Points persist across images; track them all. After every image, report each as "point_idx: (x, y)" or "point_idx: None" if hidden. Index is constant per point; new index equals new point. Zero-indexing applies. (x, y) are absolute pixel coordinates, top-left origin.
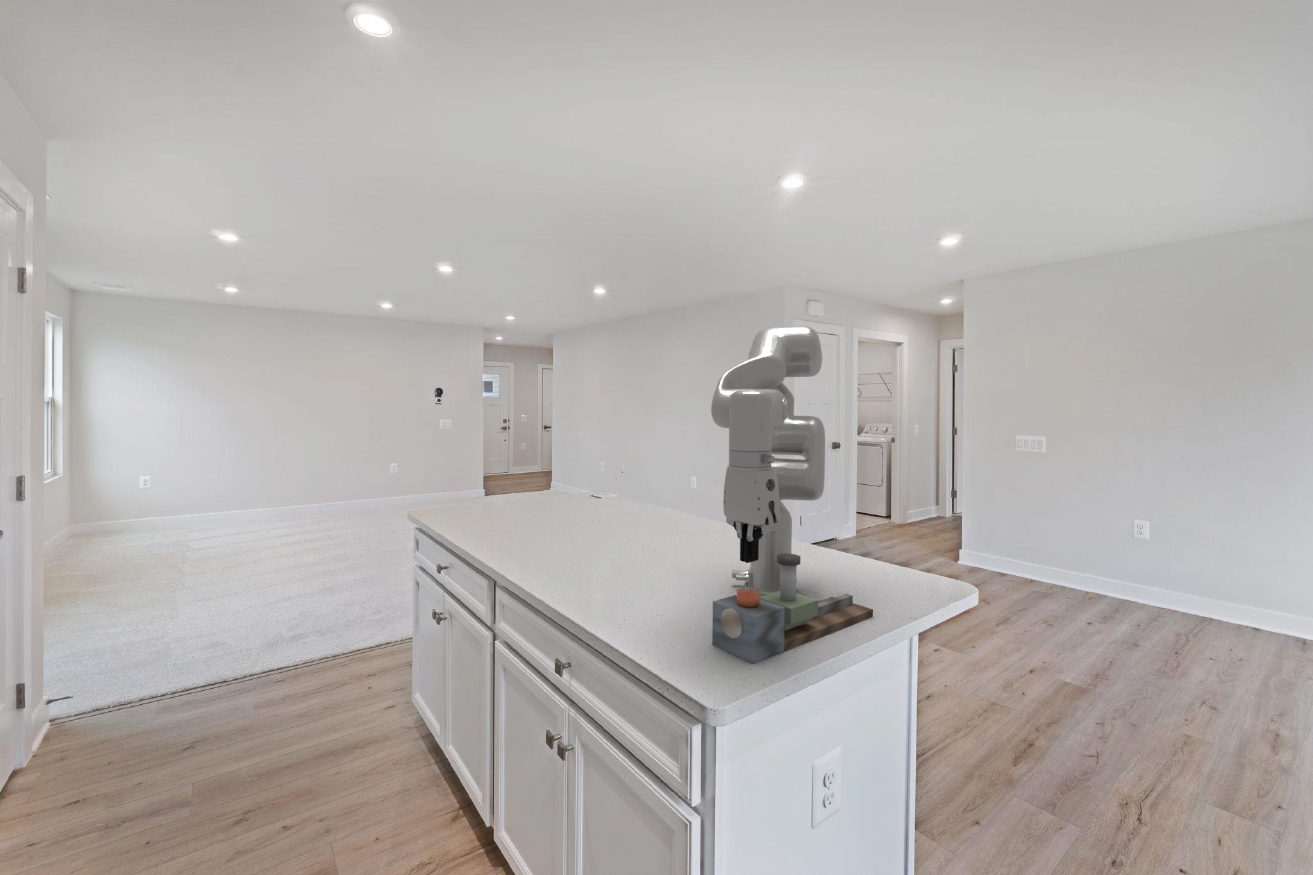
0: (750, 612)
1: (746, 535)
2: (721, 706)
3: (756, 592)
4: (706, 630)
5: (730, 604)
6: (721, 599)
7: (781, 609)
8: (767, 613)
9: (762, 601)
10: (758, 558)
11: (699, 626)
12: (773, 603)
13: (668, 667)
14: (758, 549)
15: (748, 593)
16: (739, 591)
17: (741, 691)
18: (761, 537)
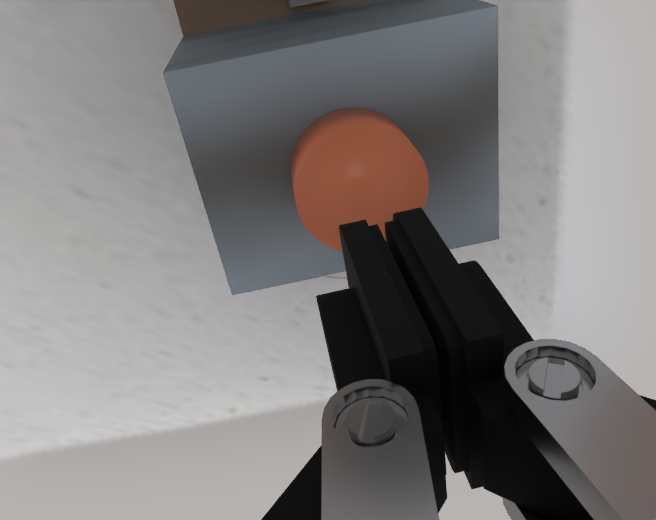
0: (447, 219)
1: (440, 486)
2: None
3: (394, 154)
4: (85, 148)
5: (310, 244)
6: (223, 246)
7: (496, 35)
8: (496, 148)
9: (352, 62)
10: (422, 209)
11: (31, 153)
12: (414, 23)
13: (318, 372)
14: (501, 295)
15: (382, 204)
16: (330, 232)
17: (530, 275)
18: (590, 359)
